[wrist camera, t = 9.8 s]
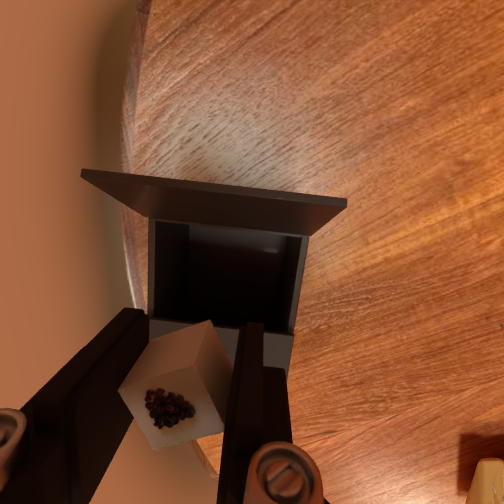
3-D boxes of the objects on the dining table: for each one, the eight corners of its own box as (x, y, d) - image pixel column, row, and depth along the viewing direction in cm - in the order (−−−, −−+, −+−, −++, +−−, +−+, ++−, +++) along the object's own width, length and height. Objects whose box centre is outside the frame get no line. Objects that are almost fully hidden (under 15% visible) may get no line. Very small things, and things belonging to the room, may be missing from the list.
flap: (144, 217, 15) (145, 211, 15) (311, 236, 15) (311, 230, 15) (79, 177, 10) (81, 168, 10) (347, 207, 9) (347, 198, 9)
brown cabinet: (187, 198, 24) (143, 214, 15) (294, 210, 24) (312, 234, 15) (181, 326, 27) (141, 401, 18) (276, 337, 27) (281, 418, 18)
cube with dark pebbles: (178, 391, 10) (150, 461, 8) (150, 338, 10) (110, 396, 7) (236, 373, 10) (226, 440, 7) (210, 318, 9) (190, 371, 7)
